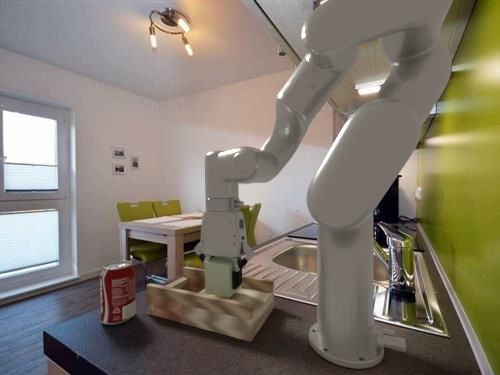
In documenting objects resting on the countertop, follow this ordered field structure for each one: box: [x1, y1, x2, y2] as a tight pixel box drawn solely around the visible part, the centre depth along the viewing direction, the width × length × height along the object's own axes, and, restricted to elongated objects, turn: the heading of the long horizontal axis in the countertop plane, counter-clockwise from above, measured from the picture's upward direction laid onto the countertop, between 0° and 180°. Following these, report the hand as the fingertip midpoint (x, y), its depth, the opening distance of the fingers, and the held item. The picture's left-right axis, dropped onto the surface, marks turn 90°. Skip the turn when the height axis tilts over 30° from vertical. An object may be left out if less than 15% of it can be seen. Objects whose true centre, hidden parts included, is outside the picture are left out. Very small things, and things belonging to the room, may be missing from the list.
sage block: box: [204, 257, 241, 298], centre depth 56 cm, size 6×6×7 cm
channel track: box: [145, 266, 275, 343], centre depth 57 cm, size 26×14×6 cm, turn 66°
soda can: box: [99, 260, 137, 326], centre depth 54 cm, size 7×7×12 cm
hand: (223, 284), depth 56 cm, fingers closed on sage block, 6 cm apart
